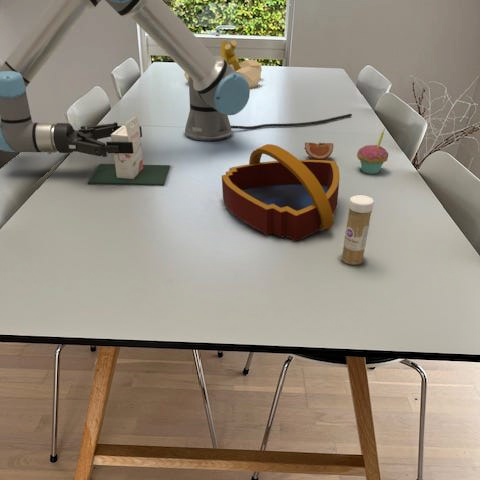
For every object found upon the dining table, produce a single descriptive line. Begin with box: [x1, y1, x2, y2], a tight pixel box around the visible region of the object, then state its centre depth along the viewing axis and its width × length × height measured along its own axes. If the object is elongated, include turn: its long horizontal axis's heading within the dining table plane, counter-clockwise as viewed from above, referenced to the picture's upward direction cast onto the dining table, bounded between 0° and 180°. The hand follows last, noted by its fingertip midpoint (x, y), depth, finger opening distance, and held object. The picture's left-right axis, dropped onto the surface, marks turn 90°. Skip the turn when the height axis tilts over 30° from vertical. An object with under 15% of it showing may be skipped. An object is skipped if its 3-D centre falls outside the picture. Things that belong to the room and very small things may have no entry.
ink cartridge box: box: [110, 114, 144, 179], centre depth 143 cm, size 9×5×15 cm, turn 169°
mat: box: [87, 163, 171, 186], centre depth 147 cm, size 20×14×1 cm
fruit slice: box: [304, 142, 334, 160], centre depth 159 cm, size 8×7×5 cm
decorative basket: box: [221, 143, 340, 242], centre depth 127 cm, size 34×29×15 cm
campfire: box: [183, 39, 263, 89], centre depth 235 cm, size 35×34×17 cm
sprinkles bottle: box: [341, 194, 375, 266], centre depth 107 cm, size 5×5×14 cm
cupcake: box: [356, 128, 389, 175], centre depth 149 cm, size 9×8×12 cm
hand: (137, 139), depth 142 cm, fingers open, 13 cm apart
